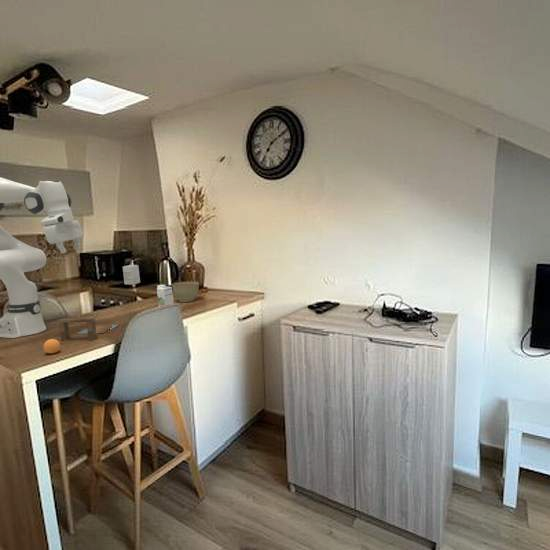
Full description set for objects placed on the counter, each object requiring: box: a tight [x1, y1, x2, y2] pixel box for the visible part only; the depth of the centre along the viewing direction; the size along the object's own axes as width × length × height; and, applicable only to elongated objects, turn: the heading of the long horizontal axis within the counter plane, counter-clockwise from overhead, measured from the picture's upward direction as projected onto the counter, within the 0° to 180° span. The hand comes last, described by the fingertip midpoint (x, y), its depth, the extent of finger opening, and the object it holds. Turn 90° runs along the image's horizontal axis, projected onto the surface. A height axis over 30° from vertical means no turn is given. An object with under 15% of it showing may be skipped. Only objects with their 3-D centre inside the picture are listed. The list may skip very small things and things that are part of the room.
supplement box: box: [122, 264, 141, 286], centre depth 297 cm, size 9×9×15 cm
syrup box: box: [156, 285, 174, 308], centre depth 192 cm, size 6×6×14 cm
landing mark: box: [76, 324, 119, 335], centre depth 169 cm, size 13×13×1 cm
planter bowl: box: [171, 281, 200, 303], centre depth 223 cm, size 16×16×11 cm
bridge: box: [58, 316, 98, 341], centre depth 155 cm, size 3×14×9 cm, turn 84°
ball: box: [43, 338, 61, 354], centre depth 139 cm, size 6×6×6 cm
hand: (70, 251), depth 153 cm, fingers open, 8 cm apart
